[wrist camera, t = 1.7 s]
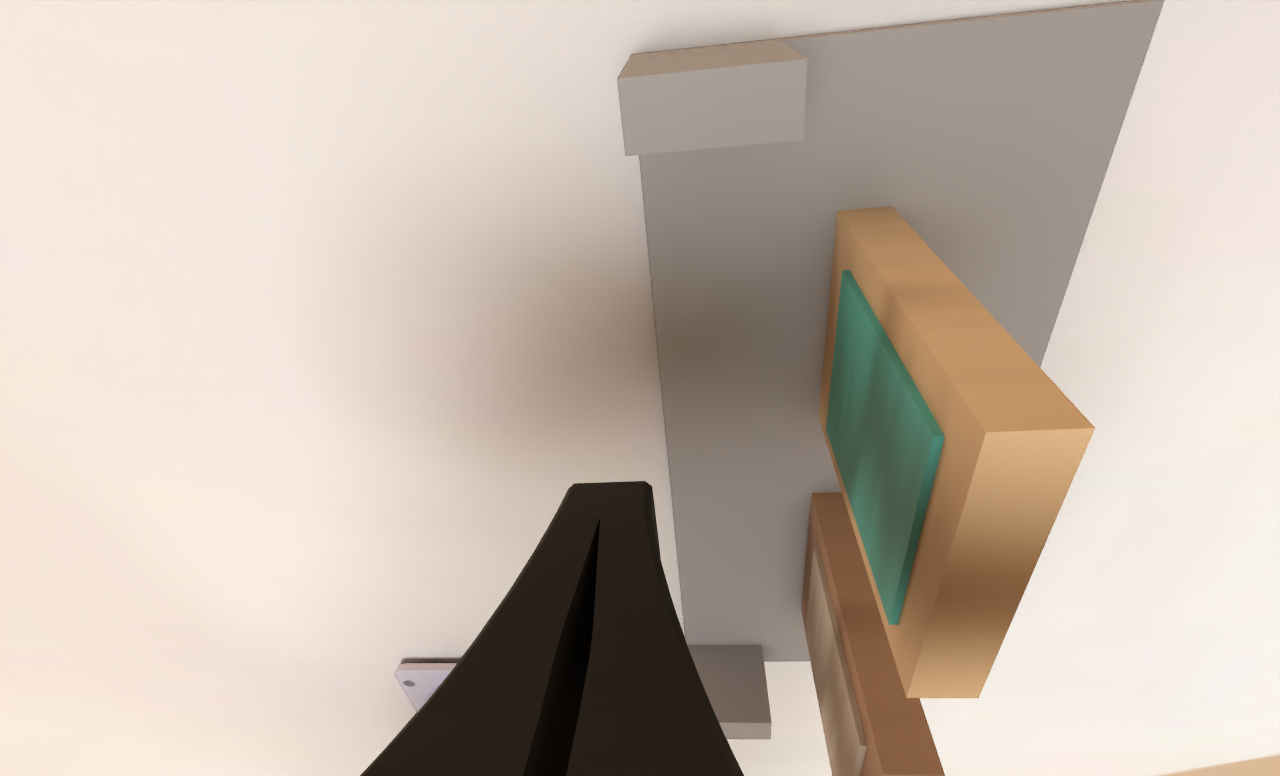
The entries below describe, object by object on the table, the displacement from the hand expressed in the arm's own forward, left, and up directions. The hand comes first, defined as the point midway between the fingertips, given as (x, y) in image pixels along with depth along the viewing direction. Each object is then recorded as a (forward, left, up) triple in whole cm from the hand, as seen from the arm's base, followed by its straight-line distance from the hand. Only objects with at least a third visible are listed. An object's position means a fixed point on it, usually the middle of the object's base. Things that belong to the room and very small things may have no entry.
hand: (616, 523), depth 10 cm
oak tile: (0, -5, -6) cm, 9 cm away
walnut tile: (-9, -5, -6) cm, 12 cm away
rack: (-5, -5, -7) cm, 10 cm away
